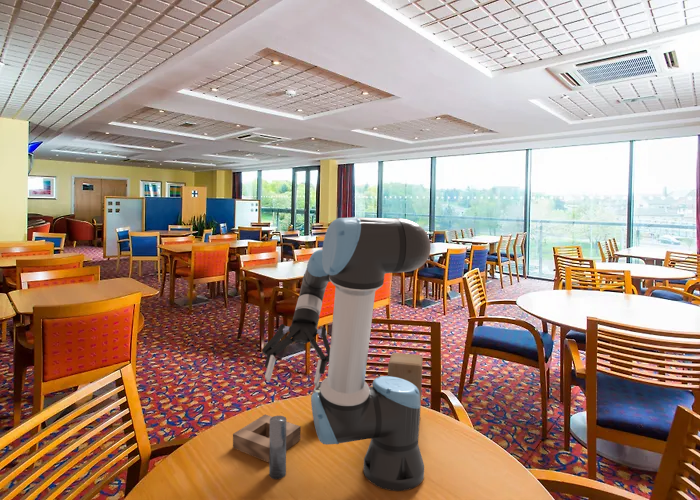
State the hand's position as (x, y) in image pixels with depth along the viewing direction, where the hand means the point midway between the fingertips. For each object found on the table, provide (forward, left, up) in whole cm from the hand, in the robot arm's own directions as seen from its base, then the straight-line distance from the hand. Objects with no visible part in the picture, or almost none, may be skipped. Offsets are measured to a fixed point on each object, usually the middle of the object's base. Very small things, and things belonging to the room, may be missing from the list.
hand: (291, 382), depth 113 cm
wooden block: (-20, -32, -19) cm, 42 cm away
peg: (-4, +10, -19) cm, 22 cm away
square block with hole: (+7, +1, -19) cm, 20 cm away
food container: (+2, -19, -19) cm, 27 cm away
